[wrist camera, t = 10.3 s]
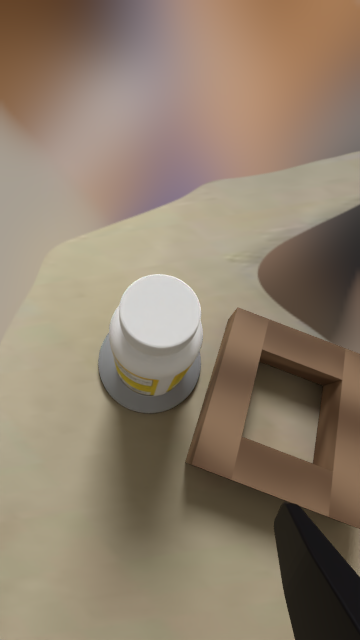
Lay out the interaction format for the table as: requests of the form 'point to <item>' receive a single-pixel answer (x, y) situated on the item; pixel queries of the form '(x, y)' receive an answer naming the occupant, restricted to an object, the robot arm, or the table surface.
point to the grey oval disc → (139, 401)
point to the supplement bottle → (155, 334)
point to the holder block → (267, 463)
